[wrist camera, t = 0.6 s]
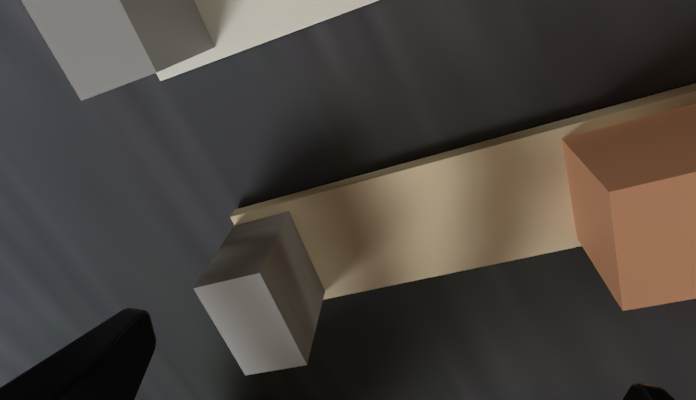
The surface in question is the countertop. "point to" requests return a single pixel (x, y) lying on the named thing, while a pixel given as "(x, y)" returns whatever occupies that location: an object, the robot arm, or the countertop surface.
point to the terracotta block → (638, 205)
